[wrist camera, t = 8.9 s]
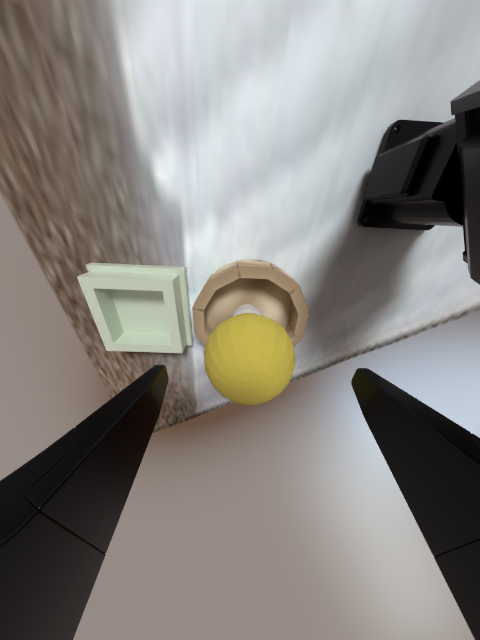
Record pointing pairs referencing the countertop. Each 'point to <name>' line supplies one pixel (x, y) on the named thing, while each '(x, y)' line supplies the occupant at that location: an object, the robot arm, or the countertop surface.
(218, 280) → the round cradle
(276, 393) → the light bulb
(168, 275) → the square socket
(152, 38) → the countertop surface
